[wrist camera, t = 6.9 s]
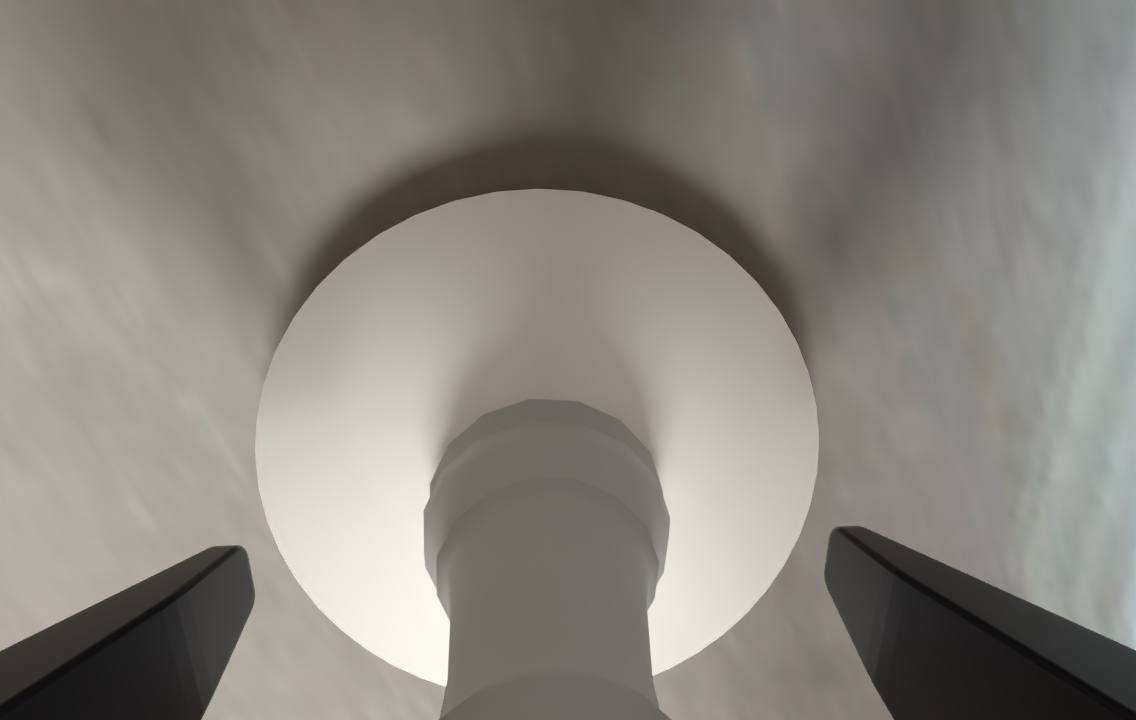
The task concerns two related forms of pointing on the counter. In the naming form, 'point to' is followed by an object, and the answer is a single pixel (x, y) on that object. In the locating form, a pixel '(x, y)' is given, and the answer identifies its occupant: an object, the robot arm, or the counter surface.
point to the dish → (533, 371)
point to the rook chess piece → (547, 565)
